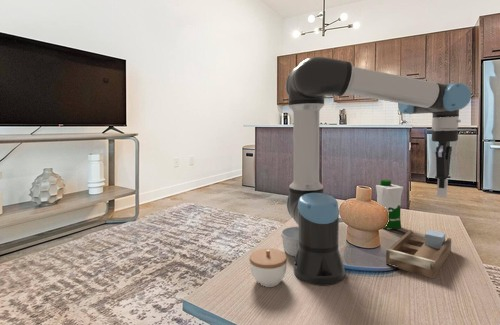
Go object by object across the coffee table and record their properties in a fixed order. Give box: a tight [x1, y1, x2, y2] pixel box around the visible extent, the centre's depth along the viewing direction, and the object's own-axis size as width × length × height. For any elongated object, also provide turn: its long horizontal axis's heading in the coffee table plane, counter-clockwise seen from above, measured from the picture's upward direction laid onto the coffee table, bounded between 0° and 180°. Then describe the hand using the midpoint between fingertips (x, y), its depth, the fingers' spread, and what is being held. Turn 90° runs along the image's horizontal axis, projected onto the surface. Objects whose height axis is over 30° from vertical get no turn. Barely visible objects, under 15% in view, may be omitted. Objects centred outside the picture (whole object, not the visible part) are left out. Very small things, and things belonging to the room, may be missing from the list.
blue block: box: [424, 229, 446, 249], centre depth 97 cm, size 5×5×4 cm
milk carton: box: [375, 179, 404, 230], centre depth 122 cm, size 9×9×20 cm
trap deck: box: [385, 229, 452, 279], centre depth 93 cm, size 13×24×5 cm, turn 135°
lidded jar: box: [249, 248, 288, 288], centre depth 82 cm, size 11×11×9 cm
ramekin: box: [280, 226, 299, 257], centre depth 102 cm, size 13×13×7 cm
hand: (441, 196), depth 101 cm, fingers closed
